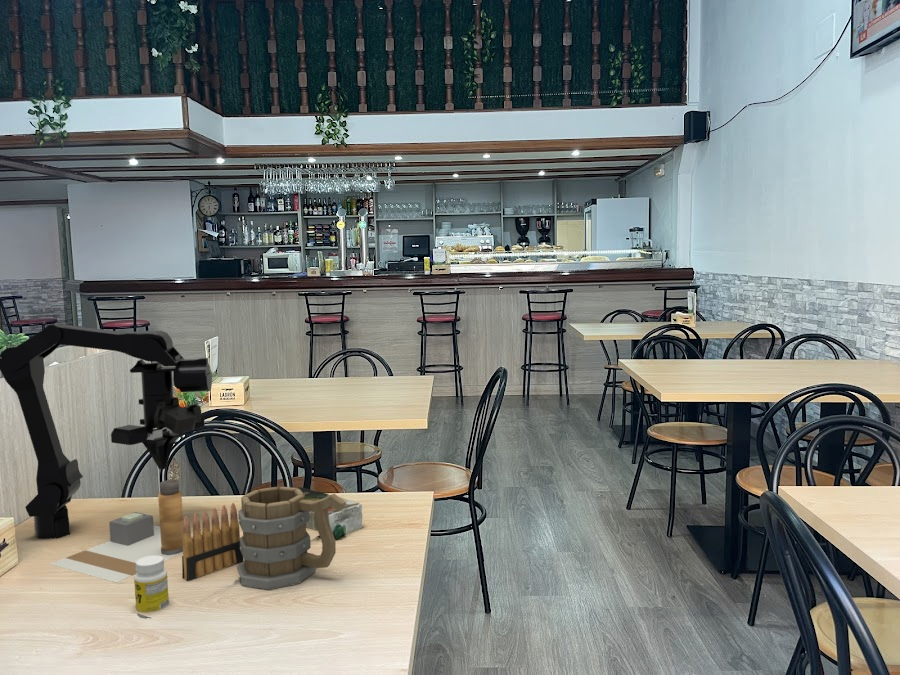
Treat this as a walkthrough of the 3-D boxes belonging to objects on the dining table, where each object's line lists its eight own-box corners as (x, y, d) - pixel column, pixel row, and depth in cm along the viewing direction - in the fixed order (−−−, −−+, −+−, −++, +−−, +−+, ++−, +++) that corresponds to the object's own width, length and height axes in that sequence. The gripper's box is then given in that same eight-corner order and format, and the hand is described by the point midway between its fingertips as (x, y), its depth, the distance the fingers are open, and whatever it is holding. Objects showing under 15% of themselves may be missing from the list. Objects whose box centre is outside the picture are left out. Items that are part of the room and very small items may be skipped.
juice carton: (368, 528, 147) (367, 499, 147) (333, 544, 139) (331, 513, 139) (302, 511, 159) (301, 484, 159) (267, 525, 152) (265, 496, 151)
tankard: (223, 583, 122) (218, 497, 121) (267, 555, 134) (263, 476, 132) (326, 600, 115) (322, 508, 113) (363, 569, 127) (360, 485, 125)
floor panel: (49, 570, 129) (49, 564, 129) (152, 530, 148) (151, 524, 148) (116, 589, 120) (116, 582, 120) (215, 544, 140) (215, 538, 140)
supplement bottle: (134, 609, 113) (131, 558, 112) (166, 602, 115) (163, 551, 114) (138, 622, 109) (134, 568, 108) (171, 614, 111) (168, 561, 110)
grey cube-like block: (110, 541, 139) (108, 518, 139) (136, 531, 144) (135, 509, 144) (127, 545, 137) (126, 522, 136) (154, 535, 142) (152, 512, 142)
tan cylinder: (156, 552, 133) (151, 484, 132) (174, 544, 137) (170, 478, 135) (172, 556, 131) (167, 486, 130) (190, 548, 135) (186, 480, 133)
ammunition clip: (187, 588, 120) (183, 518, 119) (182, 585, 122) (177, 516, 121) (244, 568, 128) (240, 502, 127) (238, 565, 129) (235, 500, 128)
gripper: (146, 404, 133) (151, 486, 135) (221, 388, 149) (225, 462, 151) (106, 400, 138) (112, 479, 140) (183, 385, 155) (187, 456, 156)
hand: (162, 469), depth 146 cm, fingers closed
